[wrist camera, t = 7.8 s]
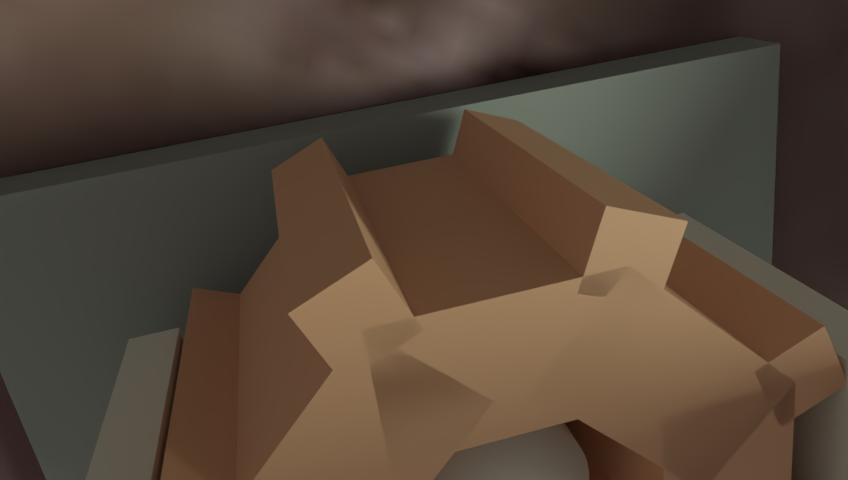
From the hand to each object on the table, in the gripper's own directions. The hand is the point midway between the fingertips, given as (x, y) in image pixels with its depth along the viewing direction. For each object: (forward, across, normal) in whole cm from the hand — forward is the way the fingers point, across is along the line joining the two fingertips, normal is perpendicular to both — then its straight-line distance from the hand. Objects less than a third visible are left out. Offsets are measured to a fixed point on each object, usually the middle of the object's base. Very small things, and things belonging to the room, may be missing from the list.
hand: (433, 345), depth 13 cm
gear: (0, 0, 0) cm, 0 cm away
